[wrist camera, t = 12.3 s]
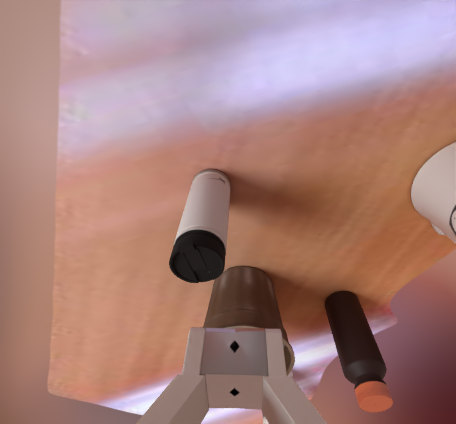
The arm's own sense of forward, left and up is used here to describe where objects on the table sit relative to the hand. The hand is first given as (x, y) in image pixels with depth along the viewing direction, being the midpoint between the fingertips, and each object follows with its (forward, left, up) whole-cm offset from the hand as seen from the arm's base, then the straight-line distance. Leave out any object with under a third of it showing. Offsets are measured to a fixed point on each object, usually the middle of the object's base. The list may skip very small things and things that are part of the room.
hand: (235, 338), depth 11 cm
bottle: (-20, +41, -39) cm, 60 cm away
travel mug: (+5, +14, -39) cm, 42 cm away
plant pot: (0, +37, -39) cm, 54 cm away
